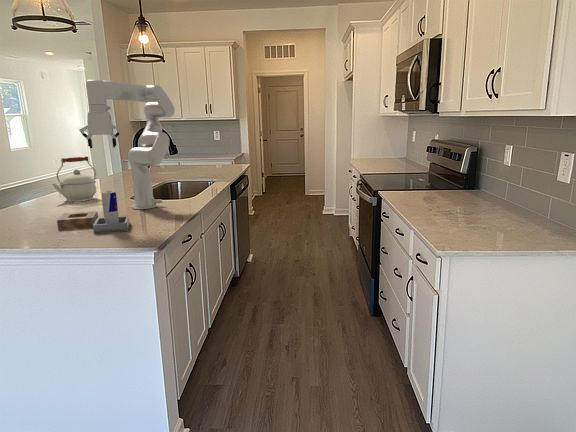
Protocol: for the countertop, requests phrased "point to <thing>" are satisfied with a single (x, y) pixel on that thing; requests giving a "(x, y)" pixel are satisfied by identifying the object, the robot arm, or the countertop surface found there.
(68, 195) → the kettle
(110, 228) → the tray
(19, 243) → the countertop surface
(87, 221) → the socket block
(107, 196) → the beverage can
